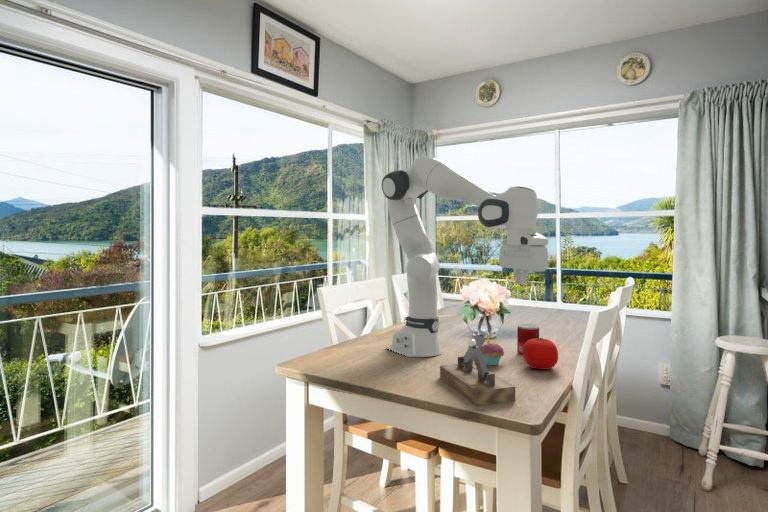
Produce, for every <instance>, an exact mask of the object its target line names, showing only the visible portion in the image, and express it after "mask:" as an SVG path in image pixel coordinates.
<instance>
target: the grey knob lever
mask: <svg viewBox="0 0 768 512" xmlns="http://www.w3.org/2000/svg"><path fill="white" fill-rule="evenodd" d="M486 333H487V332H486V330H484V329H481V330H480V331H479V332H478V333H476V334H475V336H474V338H473V340H475V341H476V345H477V346H479V348H480V349H481V347H482V346H483V345H484V343H485V341H487V338H485V337H487V335H486ZM463 356H464V357H463V359H462V361H461V362H463V363H465V361H471V360H472V361H473V362H474V360H473V357H472V355H471V352H470V349H469V347H468V348H467V350H466V352H465V353H464V355H463Z"/></svg>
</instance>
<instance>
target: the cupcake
mask: <svg viewBox="0 0 768 512" xmlns="http://www.w3.org/2000/svg"><path fill="white" fill-rule="evenodd" d="M485 332H486V341H487V343H485V344H483V345H482V347H481V349H480V350H481V353H482V356H483V358H484V361H485V363H486V364H487V365H486V366H491V365H495V366H498V365H499V364H500V360H501V357H503V356H504V355H505V351H504V349H503V347H501V346H500V345H499V344H497V343H496V344H495V343H490V337H489V333H488V331H487V330H485Z"/></svg>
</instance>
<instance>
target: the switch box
mask: <svg viewBox="0 0 768 512" xmlns="http://www.w3.org/2000/svg"><path fill="white" fill-rule="evenodd" d="M463 357H464V355H463V356H462V355H461V356H457V363H454V364H443V365H439V378H440V380H442V381H444V383H446V384H448V385H449V386H450V387H451V388H453V389H454V390H455V391H456V392H458V393H459V394H461V395H462V396H463V397H464V398H466V399H467V400H469V401H470V402H471V403H473V404H474V405H475V406H476V407H478V406H484V405H492V404H500V403H507V402H508V401H509V402H515V401H516V386H515V385H513V384H512V383H510V382H508V381H506V380H505V379H503V378H502V377H499V376H497V375H496V374H495V373H494V372H493V373H492V372H491V371H489V374H486V380H485V379H483V378H482V377H480V375H479V373H478V370H477V368H476V365H475V362H474V361H472V360H471V361H465V363H463V362H461V361H462V359H463Z"/></svg>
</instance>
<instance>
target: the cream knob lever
mask: <svg viewBox="0 0 768 512" xmlns="http://www.w3.org/2000/svg"><path fill="white" fill-rule="evenodd" d="M473 339H474V338H473ZM473 339H471V338H470V340H468V348H469V349H470V352H471V355H472V357H473V360H474V361H473V362H474V363H475V365H476V368H477V370H478V373H479V375H480V377H482V378H483V379H485V380H486V374H489V372H490V371H489V369H488V367H487V366H488V365H486V363H485V361H484V358H483V356H482V353H481V350H480V348H479V346H477V345H476V341H475V340H473Z"/></svg>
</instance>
